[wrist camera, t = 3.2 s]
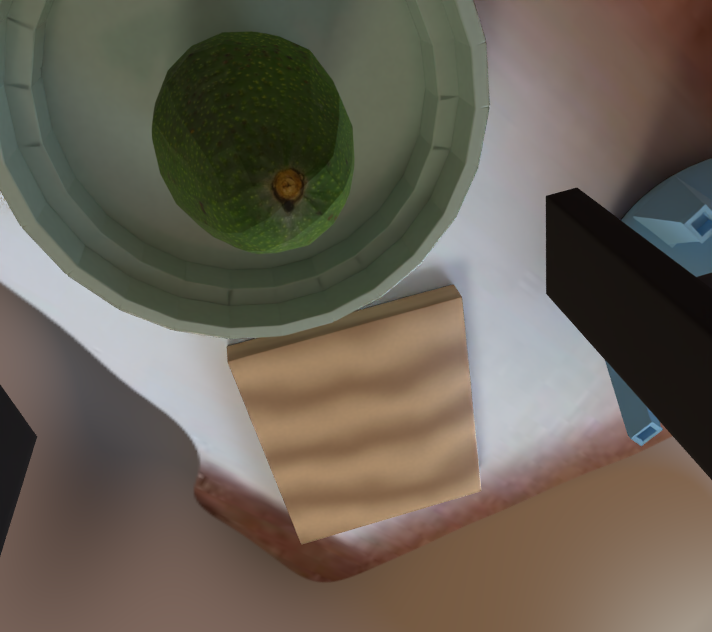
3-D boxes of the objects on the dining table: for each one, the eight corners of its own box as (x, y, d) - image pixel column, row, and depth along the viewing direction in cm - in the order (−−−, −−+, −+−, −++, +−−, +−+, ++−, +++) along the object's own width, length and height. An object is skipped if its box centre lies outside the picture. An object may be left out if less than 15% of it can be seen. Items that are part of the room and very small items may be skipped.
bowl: (-109, -106, 22) (-170, -108, 19) (429, -225, 23) (471, -248, 20) (119, 332, 34) (109, 384, 30) (469, 238, 35) (499, 277, 32)
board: (226, 346, 36) (227, 361, 35) (453, 283, 37) (462, 296, 36) (298, 527, 46) (301, 544, 45) (474, 476, 47) (481, 491, 46)
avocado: (359, 131, 30) (434, 240, 21) (229, 216, 31) (240, 358, 22) (267, -27, 26) (305, 16, 16) (118, 79, 27) (69, 180, 17)
